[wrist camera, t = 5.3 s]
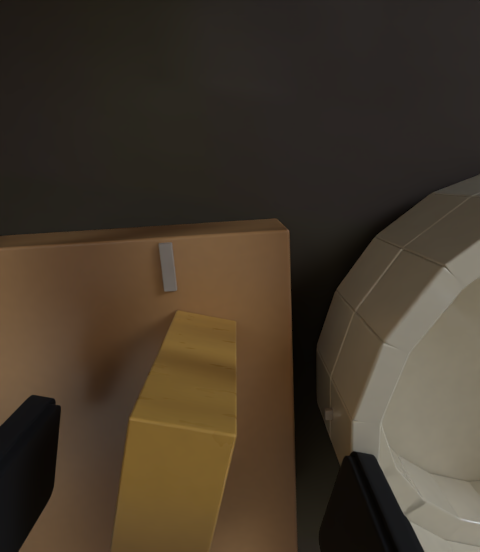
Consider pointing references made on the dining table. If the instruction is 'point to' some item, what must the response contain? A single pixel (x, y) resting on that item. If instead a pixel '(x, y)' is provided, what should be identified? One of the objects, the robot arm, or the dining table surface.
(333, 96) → the dining table surface
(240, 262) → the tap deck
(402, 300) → the basin
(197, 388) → the tap lever
